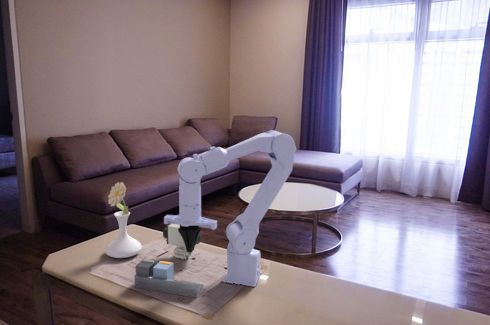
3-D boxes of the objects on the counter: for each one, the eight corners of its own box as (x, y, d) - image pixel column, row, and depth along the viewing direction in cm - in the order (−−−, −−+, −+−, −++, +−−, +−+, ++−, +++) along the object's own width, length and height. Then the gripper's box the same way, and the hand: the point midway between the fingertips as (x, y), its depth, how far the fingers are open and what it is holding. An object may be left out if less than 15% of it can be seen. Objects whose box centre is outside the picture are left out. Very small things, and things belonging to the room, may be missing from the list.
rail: (203, 287, 98) (203, 266, 96) (196, 297, 93) (196, 275, 92) (144, 278, 102) (143, 258, 101) (134, 287, 97) (133, 266, 96)
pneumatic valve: (195, 263, 111) (195, 227, 109) (163, 257, 115) (162, 221, 113) (203, 256, 116) (203, 221, 114) (172, 250, 120) (171, 216, 118)
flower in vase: (104, 249, 120) (99, 177, 115) (139, 244, 125) (136, 174, 120) (107, 266, 108) (102, 187, 104) (145, 259, 113) (142, 183, 108)
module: (173, 279, 100) (173, 262, 99) (167, 286, 96) (166, 268, 95) (160, 277, 101) (160, 260, 100) (153, 284, 97) (153, 266, 96)
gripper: (158, 204, 93) (159, 253, 95) (210, 210, 89) (210, 260, 92) (170, 197, 100) (171, 243, 102) (219, 202, 96) (219, 249, 99)
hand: (190, 250), depth 97 cm, fingers closed
